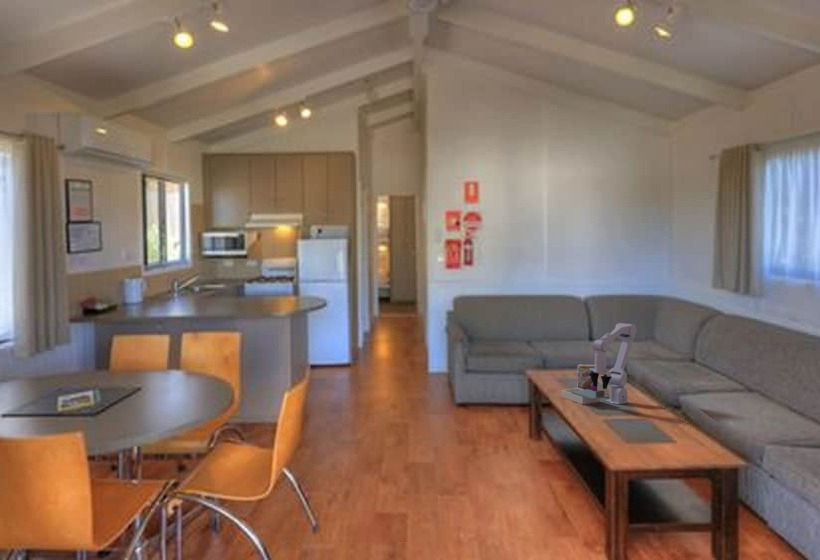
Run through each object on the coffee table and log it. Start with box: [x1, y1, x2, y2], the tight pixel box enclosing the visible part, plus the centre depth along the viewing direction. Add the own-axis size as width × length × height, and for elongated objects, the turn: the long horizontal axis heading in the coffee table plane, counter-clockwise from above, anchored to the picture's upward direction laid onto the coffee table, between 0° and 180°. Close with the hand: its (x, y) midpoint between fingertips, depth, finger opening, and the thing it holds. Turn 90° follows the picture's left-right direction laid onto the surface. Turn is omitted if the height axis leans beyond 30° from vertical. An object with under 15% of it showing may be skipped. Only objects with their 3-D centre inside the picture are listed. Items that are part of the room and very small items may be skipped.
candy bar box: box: [576, 363, 598, 391], centre depth 400 cm, size 11×5×16 cm, turn 84°
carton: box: [561, 387, 601, 406], centre depth 383 cm, size 18×12×4 cm, turn 26°
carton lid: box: [571, 389, 610, 399], centre depth 375 cm, size 18×12×4 cm, turn 26°
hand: (600, 387), depth 368 cm, fingers open, 7 cm apart
